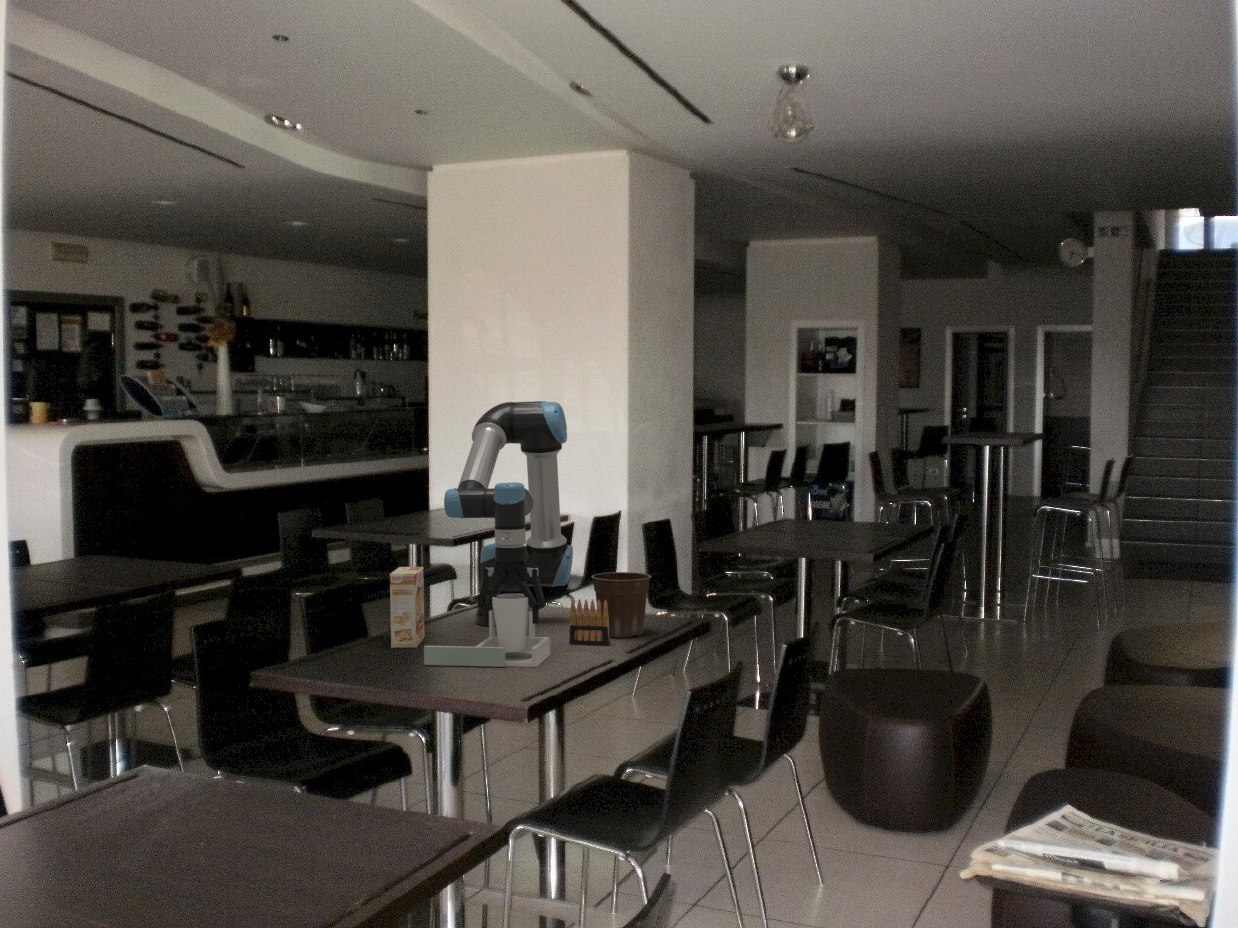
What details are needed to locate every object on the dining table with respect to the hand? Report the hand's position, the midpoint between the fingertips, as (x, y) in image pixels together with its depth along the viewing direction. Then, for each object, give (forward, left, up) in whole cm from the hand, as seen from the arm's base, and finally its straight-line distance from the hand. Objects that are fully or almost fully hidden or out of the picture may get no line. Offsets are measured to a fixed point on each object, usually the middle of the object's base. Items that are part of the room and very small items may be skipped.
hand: (512, 636), depth 304 cm
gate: (+8, -10, -6) cm, 14 cm away
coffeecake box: (-20, -34, -6) cm, 40 cm away
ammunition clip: (-22, +15, -6) cm, 27 cm away
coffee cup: (-18, -4, -6) cm, 19 cm away
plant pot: (-37, +21, -6) cm, 43 cm away
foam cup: (0, 0, -3) cm, 3 cm away
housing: (0, 0, -6) cm, 6 cm away
